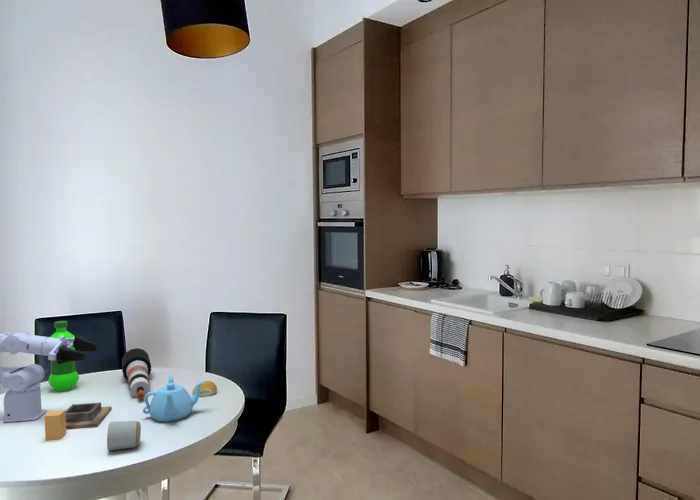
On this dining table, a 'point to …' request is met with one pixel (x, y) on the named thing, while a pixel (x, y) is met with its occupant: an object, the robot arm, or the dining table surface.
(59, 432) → the orange rectangular block
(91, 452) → the dining table surface
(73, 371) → the plastic bottle
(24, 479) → the dining table surface
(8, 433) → the dining table surface
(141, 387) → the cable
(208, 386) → the bread roll
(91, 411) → the holder
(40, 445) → the dining table surface
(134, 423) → the ceramic mug
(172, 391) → the teapot
